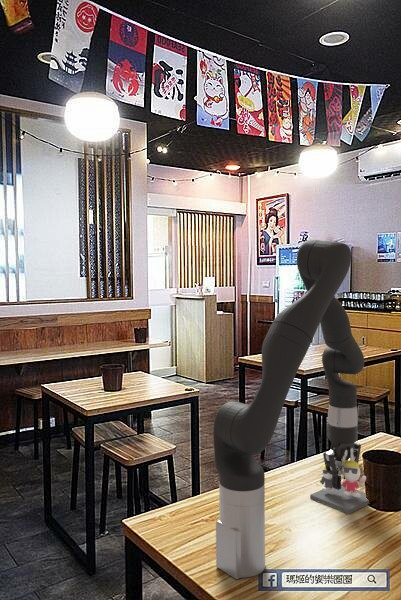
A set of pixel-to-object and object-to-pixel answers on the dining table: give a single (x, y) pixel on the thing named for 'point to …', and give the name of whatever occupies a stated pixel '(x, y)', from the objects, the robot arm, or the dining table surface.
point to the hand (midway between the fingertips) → (342, 485)
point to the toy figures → (350, 481)
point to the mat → (340, 500)
